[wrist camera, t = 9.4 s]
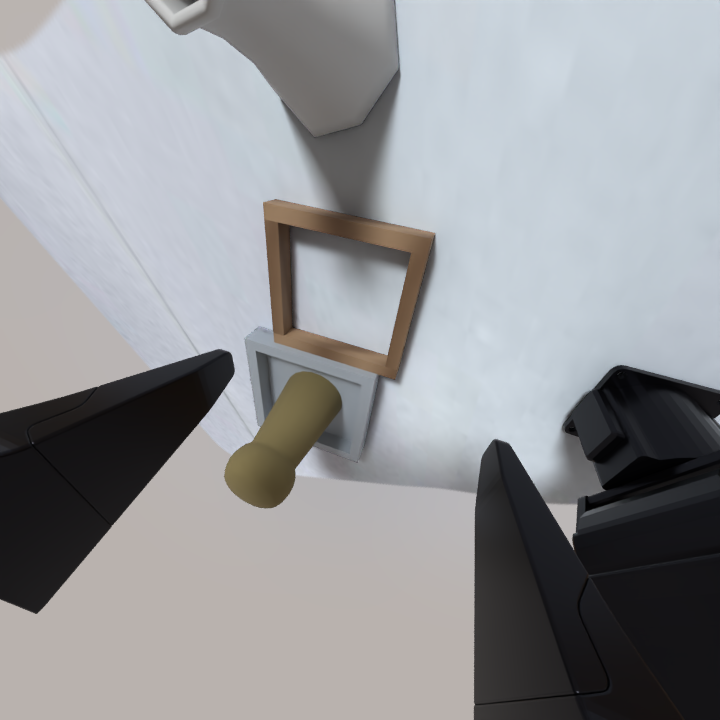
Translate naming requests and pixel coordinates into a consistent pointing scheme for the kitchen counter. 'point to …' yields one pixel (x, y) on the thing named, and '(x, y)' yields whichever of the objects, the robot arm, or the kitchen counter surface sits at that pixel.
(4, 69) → the kitchen counter surface
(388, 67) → the flask
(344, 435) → the tray
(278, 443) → the cork
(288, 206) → the wooden picture frame
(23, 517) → the robot arm
